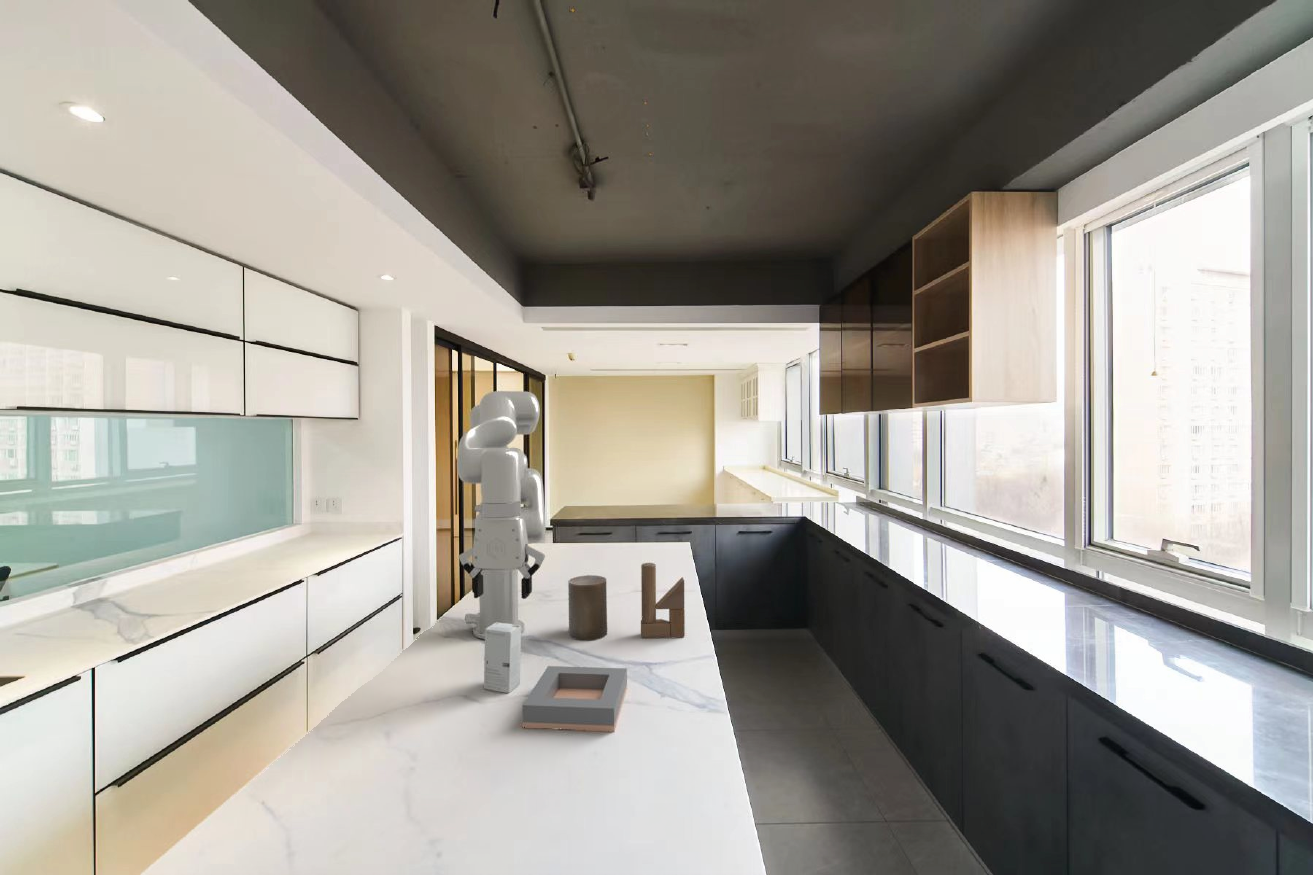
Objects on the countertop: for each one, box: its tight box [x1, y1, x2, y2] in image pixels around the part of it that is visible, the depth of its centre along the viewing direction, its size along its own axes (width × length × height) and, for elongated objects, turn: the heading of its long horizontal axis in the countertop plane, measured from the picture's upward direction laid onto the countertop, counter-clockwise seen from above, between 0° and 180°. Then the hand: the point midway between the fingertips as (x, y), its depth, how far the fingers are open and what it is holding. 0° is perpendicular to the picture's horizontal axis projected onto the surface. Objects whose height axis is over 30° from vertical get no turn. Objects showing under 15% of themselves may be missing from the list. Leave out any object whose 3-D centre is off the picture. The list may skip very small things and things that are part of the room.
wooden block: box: [640, 562, 686, 639], centre depth 140 cm, size 4×11×18 cm, turn 93°
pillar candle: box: [567, 574, 608, 641], centre depth 142 cm, size 10×10×15 cm
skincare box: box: [483, 622, 522, 694], centre depth 113 cm, size 6×4×12 cm
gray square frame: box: [522, 665, 628, 733], centre depth 104 cm, size 16×16×4 cm
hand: (502, 596), depth 112 cm, fingers open, 9 cm apart
